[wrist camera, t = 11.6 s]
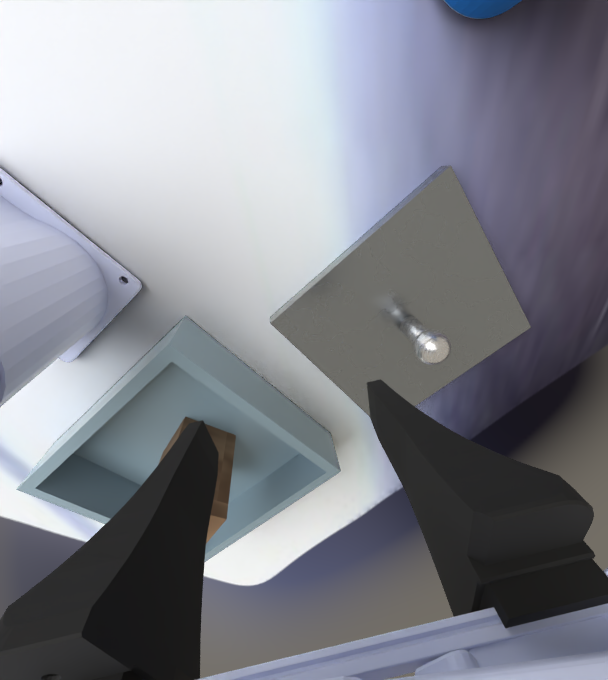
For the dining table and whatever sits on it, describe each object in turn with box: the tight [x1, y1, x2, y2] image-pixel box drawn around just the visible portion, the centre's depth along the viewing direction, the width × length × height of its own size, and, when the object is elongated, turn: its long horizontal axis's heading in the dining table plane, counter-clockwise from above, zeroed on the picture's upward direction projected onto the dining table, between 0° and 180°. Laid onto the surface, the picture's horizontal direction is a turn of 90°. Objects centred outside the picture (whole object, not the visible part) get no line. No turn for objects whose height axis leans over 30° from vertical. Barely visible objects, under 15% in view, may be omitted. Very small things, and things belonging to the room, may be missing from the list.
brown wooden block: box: [158, 417, 236, 543], centre depth 21 cm, size 4×4×7 cm
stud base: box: [270, 166, 531, 416], centre depth 20 cm, size 14×14×5 cm
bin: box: [16, 316, 341, 562], centre depth 23 cm, size 16×16×4 cm
